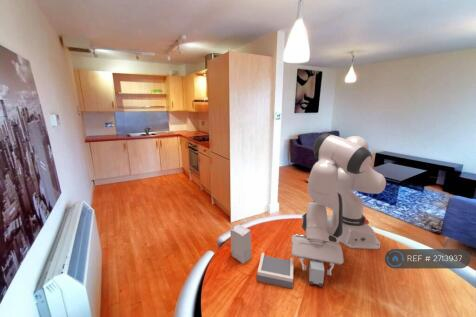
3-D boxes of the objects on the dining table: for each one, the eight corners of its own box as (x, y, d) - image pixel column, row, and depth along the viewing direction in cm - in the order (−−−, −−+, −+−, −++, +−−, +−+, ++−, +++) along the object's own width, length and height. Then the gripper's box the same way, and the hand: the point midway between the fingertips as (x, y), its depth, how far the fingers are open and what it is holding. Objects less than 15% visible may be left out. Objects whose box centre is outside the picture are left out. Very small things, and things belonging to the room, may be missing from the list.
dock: (292, 266, 95) (293, 258, 93) (292, 288, 83) (293, 279, 82) (261, 260, 98) (261, 252, 97) (257, 281, 87) (257, 271, 86)
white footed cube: (320, 277, 89) (322, 261, 87) (322, 288, 83) (324, 271, 82) (308, 275, 90) (310, 259, 88) (309, 285, 85) (310, 268, 83)
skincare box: (251, 258, 100) (252, 230, 96) (242, 264, 96) (242, 235, 92) (239, 249, 106) (239, 223, 102) (230, 255, 101) (229, 228, 98)
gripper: (292, 231, 92) (289, 266, 85) (343, 239, 87) (345, 277, 80) (291, 234, 97) (289, 268, 90) (340, 242, 92) (341, 278, 85)
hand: (316, 272), depth 85 cm, fingers open, 8 cm apart
